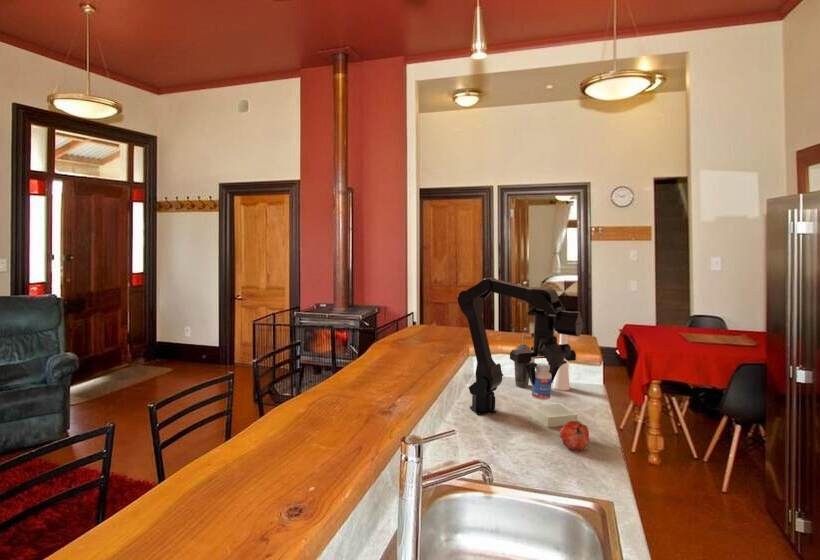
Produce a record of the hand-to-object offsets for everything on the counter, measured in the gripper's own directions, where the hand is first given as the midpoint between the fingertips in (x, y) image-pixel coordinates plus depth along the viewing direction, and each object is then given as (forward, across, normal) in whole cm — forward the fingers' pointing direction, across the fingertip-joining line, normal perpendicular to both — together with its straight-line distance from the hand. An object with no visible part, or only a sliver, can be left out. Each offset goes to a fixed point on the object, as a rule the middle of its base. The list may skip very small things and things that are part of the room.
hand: (541, 383), depth 144 cm
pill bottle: (+4, 0, 0) cm, 4 cm away
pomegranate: (+13, +2, -15) cm, 20 cm away
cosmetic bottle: (+13, +26, +30) cm, 42 cm away
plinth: (+13, +7, +4) cm, 15 cm away
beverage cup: (+13, +13, +36) cm, 41 cm away
